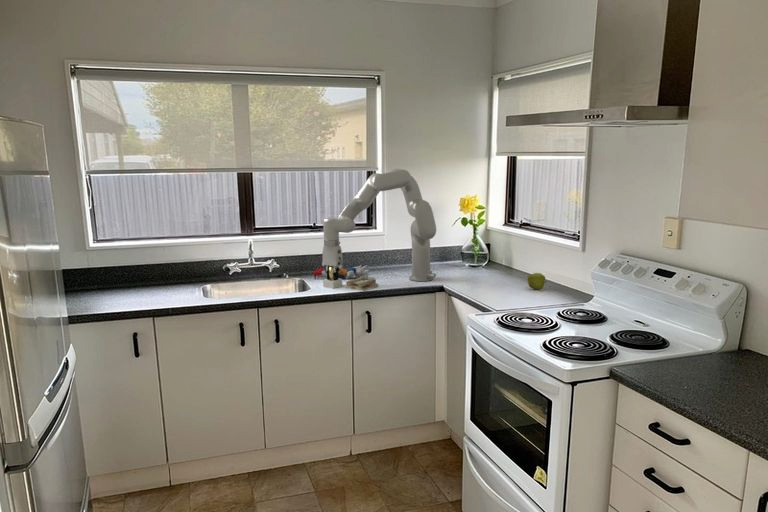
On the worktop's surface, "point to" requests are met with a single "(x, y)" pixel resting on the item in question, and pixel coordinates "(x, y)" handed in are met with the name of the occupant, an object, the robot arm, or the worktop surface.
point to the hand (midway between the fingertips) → (332, 278)
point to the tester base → (361, 284)
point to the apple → (536, 281)
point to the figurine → (346, 272)
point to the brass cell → (331, 273)
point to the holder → (332, 283)
